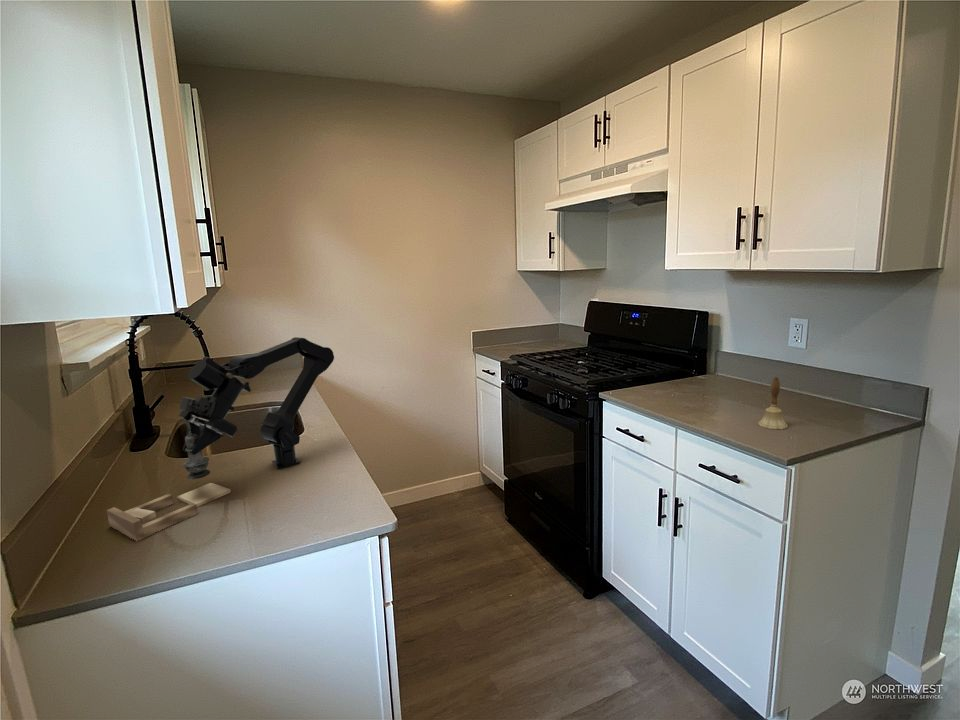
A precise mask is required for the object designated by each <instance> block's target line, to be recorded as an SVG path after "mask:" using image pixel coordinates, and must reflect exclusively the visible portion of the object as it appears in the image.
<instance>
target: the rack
mask: <svg viewBox="0 0 960 720" xmlns="http://www.w3.org/2000/svg"><path fill="white" fill-rule="evenodd" d="M171 504H172V505H174V504H175V502H174V497H173V494H171V493H167V494H165V495H162V496H159V497H157V498H155V499H152V500H150V501H147V502H145V503H143V504H140V505H137V506H134V507H133V508H130V509H127V510H125V511H124V510H121V509H119V508H117V507H114V506H113V507H111V508H109V509H106V514H107V519H108V524H109V527H110V526H111V527H113V528H115V529H117V530H119V531H120V532H122V533H123V534H125V535H127V536H129V537H130V538H129V537H128V538H129V539H131V538H132V539H131V540H133V539H134V540H133V541H135V540H136V541H135V542H139V541H141V540H143V539H145V537H146V538H148V537H150V536H152V535H154V534H156V533H155V532H157V531H159V532H161V531H163V530H165V529H167V528H166V527H168V528H170V527H172V526H174V525H176V524H179V523H181V522H182V520H183V521H185V520H188V519H189V517H190V518H192V517H194V516H197V515H198V514H199V511H198V507H197V505H196V504H194V503H192V504H187V505H185V506H183V507H180V508H178V509H176V510H174V511H171V512H169V513H167V514H165V515H162V516H159V517H158V518H157V517H156V519H155V520H153V521H150V522H148V523H146V524H143V525H142V522H141V520H140V519H138V518H136V517H134V516H132V515H130V514H128V512H130V511H132V510H134V509H136V508H139V509H145V510H150V511H155V512H157V511H156V510H158V511H160V510H163V509H165V508H167V507H169V505H170V506H172V505H171ZM166 506H167V507H166ZM164 507H165V508H164ZM162 508H163V509H162ZM159 509H160V510H159ZM178 522H179V523H178ZM173 524H174V525H173ZM171 525H172V526H171ZM169 526H170V527H169ZM164 528H165V529H164ZM162 529H163V530H162ZM160 530H161V531H160ZM120 532H119V533H120ZM122 533H121V534H122ZM153 533H154V534H153ZM157 533H158V532H157ZM123 534H122V535H123ZM151 534H152V535H151ZM125 535H124V536H125ZM149 535H150V536H149ZM127 536H126V537H127ZM147 536H148V537H147ZM138 540H139V541H138Z"/></svg>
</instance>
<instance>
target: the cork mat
mask: <svg viewBox="0 0 960 720" xmlns="http://www.w3.org/2000/svg"><path fill="white" fill-rule="evenodd" d="M231 492H232V491H231V489H230V488H227V487H225V486H222V485H219V484H215V483H213V482H209V483H207V484H204V485H201V486H199V487H197V488H195V489H192V490H190V491H187V492H185V493H182V494H180V495H178V496H176V499H177V500H178V501H180V502H183V503H185V504H187V505H190V504H192V503H194V504H196V505H197V508H199V507H201V506H203V505H205V504H207V503H209V502H212V501H214V500H216V499H218V498H221V497H223V496H226V495H228V494H230V493H231Z"/></svg>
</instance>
